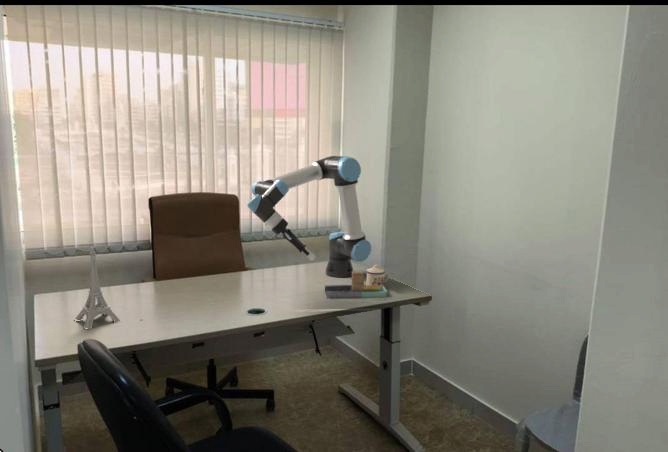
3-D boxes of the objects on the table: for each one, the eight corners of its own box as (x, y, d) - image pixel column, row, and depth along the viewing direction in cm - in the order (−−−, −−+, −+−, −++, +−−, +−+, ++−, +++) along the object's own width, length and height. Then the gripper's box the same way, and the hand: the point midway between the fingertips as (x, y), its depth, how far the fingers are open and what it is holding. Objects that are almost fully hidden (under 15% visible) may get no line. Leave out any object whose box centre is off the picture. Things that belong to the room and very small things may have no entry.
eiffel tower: (73, 320, 197) (67, 246, 192) (108, 312, 206) (103, 242, 201) (85, 330, 188) (79, 252, 182) (121, 321, 197) (116, 247, 192)
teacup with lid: (372, 291, 240) (372, 268, 238) (362, 286, 248) (363, 263, 246) (392, 288, 246) (393, 265, 244) (382, 283, 254) (383, 261, 252)
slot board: (324, 292, 238) (324, 285, 237) (357, 291, 240) (357, 284, 239) (326, 300, 226) (326, 292, 226) (361, 299, 228) (361, 292, 227)
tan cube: (361, 293, 236) (362, 285, 235) (370, 293, 237) (370, 284, 236) (363, 295, 232) (363, 287, 232) (371, 295, 233) (372, 287, 232)
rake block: (351, 291, 236) (351, 271, 234) (361, 291, 237) (362, 271, 235) (352, 295, 231) (353, 274, 229) (363, 294, 232) (364, 274, 230)
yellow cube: (370, 293, 237) (370, 285, 236) (378, 292, 237) (378, 284, 236) (371, 295, 233) (372, 287, 232) (380, 295, 233) (380, 287, 232)
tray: (357, 292, 239) (357, 286, 238) (383, 291, 240) (383, 285, 240) (361, 298, 229) (361, 292, 228) (387, 298, 230) (388, 292, 230)
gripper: (270, 226, 230) (306, 261, 235) (270, 231, 217) (308, 268, 222) (282, 215, 230) (318, 250, 235) (282, 219, 217) (320, 256, 222)
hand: (313, 258), depth 228 cm, fingers closed
